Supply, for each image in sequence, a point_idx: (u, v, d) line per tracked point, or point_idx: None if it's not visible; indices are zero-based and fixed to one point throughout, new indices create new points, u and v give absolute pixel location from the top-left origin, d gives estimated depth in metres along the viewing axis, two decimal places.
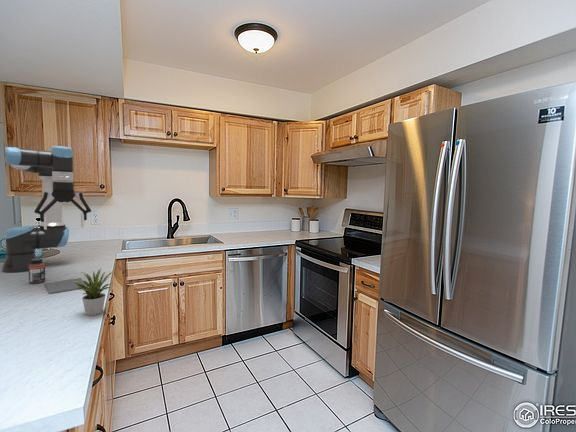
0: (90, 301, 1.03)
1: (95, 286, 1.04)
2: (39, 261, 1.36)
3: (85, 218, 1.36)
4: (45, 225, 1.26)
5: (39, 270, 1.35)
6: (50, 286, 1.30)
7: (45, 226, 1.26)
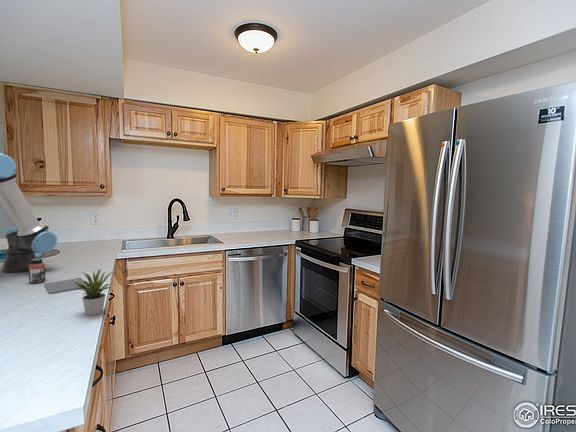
0: (90, 301, 1.03)
1: (95, 286, 1.04)
2: (39, 261, 1.36)
3: None
4: None
5: (39, 270, 1.35)
6: (50, 286, 1.30)
7: None
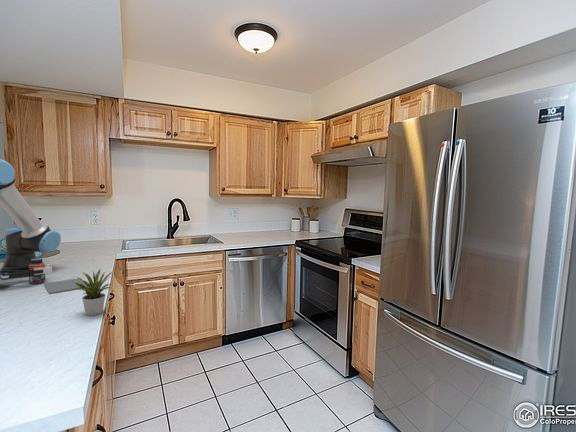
0: (90, 301, 1.03)
1: (95, 286, 1.04)
2: (39, 261, 1.36)
3: None
4: None
5: None
6: (50, 286, 1.30)
7: None
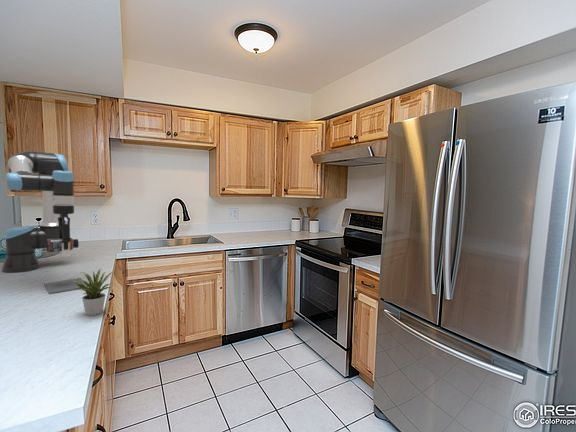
0: (90, 301, 1.03)
1: (95, 286, 1.04)
2: (76, 245, 1.34)
3: (64, 247, 1.28)
4: None
5: None
6: (50, 286, 1.30)
7: None
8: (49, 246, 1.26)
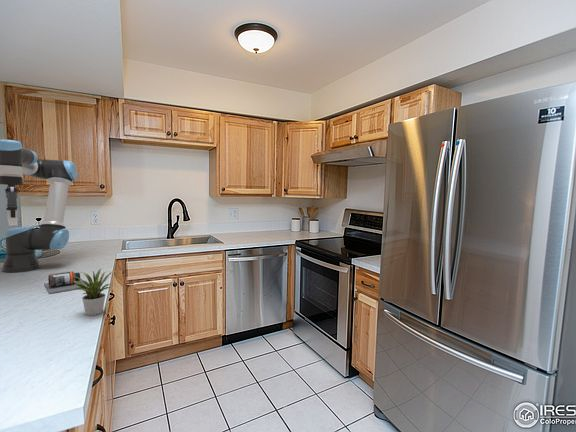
0: (90, 301, 1.03)
1: (95, 286, 1.04)
2: (78, 279, 1.35)
3: (10, 215, 1.22)
4: None
5: (67, 281, 1.31)
6: None
7: None
8: (51, 281, 1.28)
